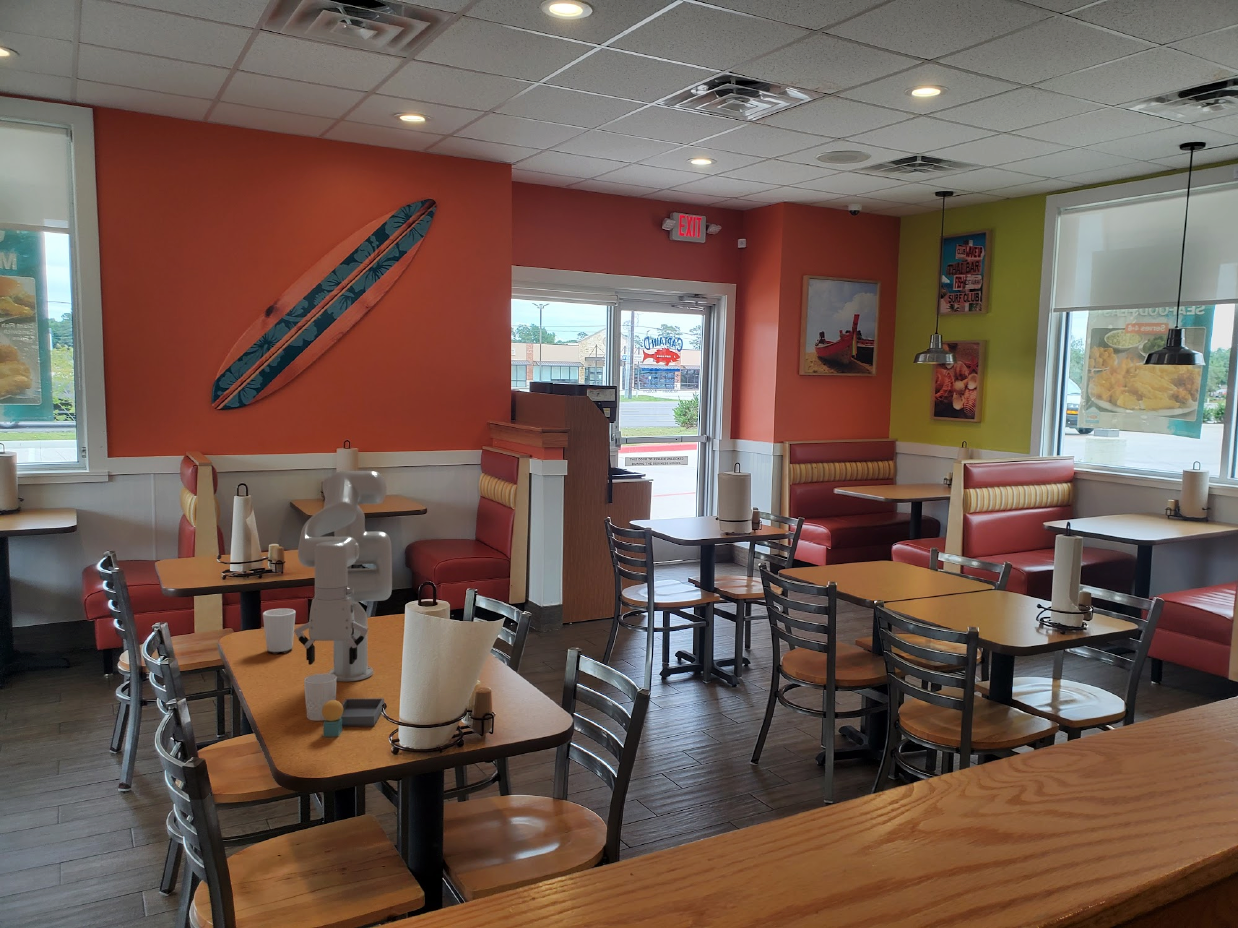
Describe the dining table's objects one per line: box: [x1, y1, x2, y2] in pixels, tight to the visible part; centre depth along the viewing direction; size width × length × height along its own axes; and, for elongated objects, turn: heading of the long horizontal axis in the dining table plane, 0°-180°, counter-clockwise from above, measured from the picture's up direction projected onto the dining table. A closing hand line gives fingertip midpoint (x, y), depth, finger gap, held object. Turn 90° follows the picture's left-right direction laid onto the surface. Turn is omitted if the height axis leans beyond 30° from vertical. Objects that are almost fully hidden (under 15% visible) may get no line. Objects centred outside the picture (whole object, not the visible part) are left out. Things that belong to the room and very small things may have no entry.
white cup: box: [303, 673, 337, 722], centre depth 226 cm, size 8×8×10 cm
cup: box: [262, 608, 296, 655], centre depth 281 cm, size 10×10×13 cm
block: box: [322, 717, 343, 738], centre depth 215 cm, size 4×4×4 cm
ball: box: [322, 700, 343, 721], centre depth 214 cm, size 5×5×5 cm
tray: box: [341, 697, 385, 728], centre depth 226 cm, size 13×10×3 cm
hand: (332, 662), depth 213 cm, fingers open, 9 cm apart
